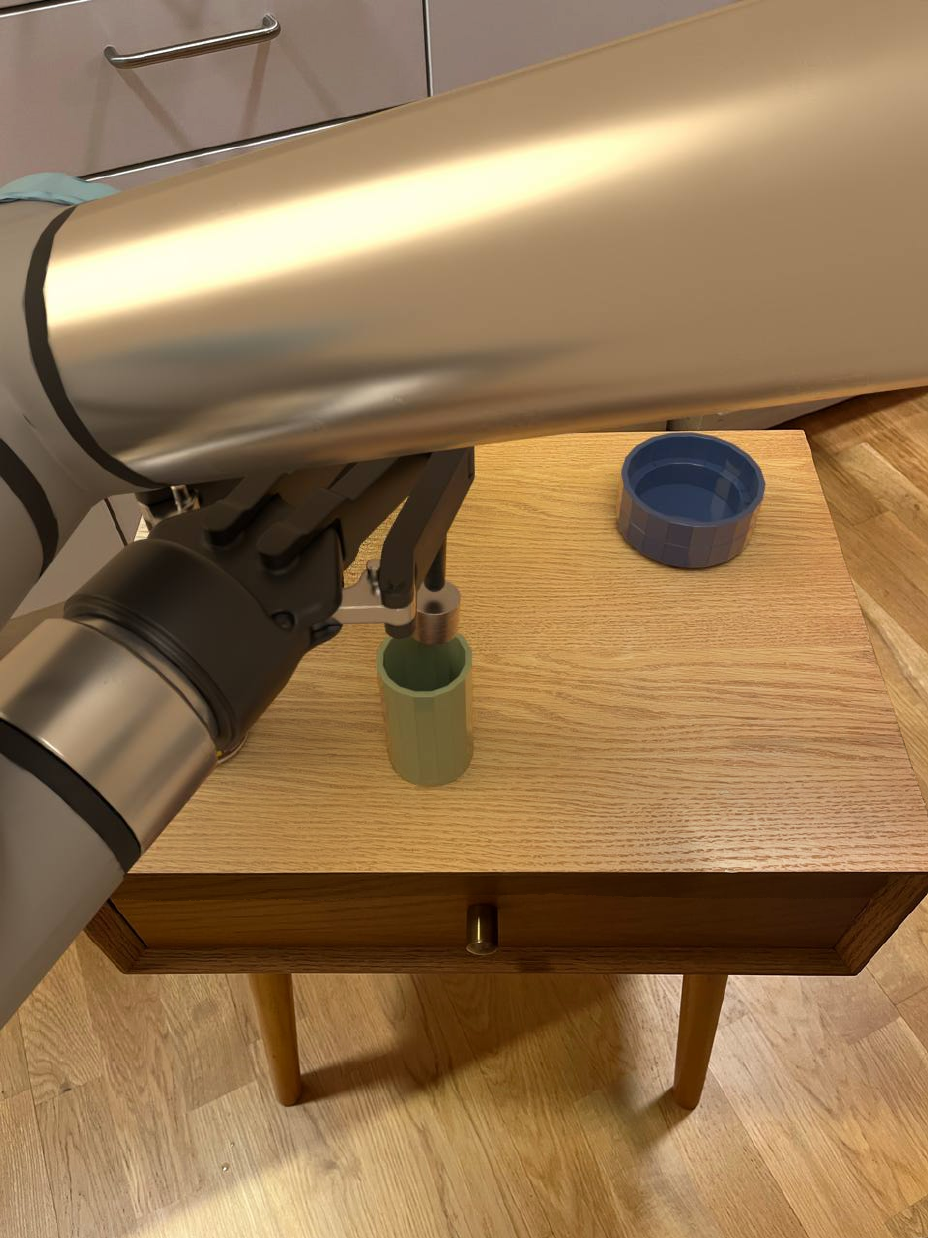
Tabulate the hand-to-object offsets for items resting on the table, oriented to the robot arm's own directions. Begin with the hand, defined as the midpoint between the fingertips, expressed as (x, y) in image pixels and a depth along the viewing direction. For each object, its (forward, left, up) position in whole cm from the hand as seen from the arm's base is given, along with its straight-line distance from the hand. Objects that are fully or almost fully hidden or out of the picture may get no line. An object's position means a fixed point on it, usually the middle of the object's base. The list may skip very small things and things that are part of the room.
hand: (473, 337), depth 46 cm
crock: (-5, +3, -28) cm, 29 cm away
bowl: (+16, -17, -28) cm, 36 cm away
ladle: (-5, +3, -16) cm, 17 cm away
